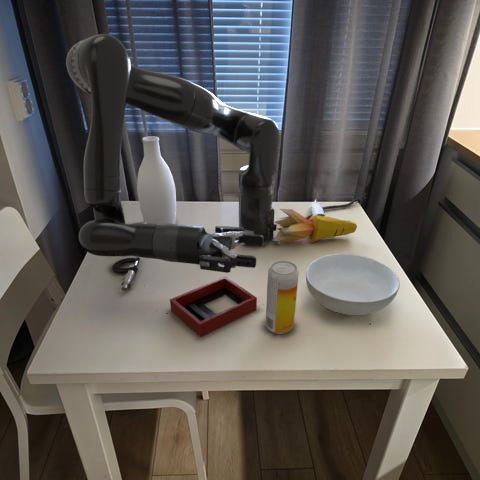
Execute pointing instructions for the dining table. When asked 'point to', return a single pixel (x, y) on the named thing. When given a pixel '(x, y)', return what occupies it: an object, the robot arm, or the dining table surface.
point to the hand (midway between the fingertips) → (259, 251)
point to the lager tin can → (281, 296)
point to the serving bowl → (351, 283)
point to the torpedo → (317, 208)
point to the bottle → (155, 186)
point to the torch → (310, 227)
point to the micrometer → (126, 271)
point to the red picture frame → (204, 319)
